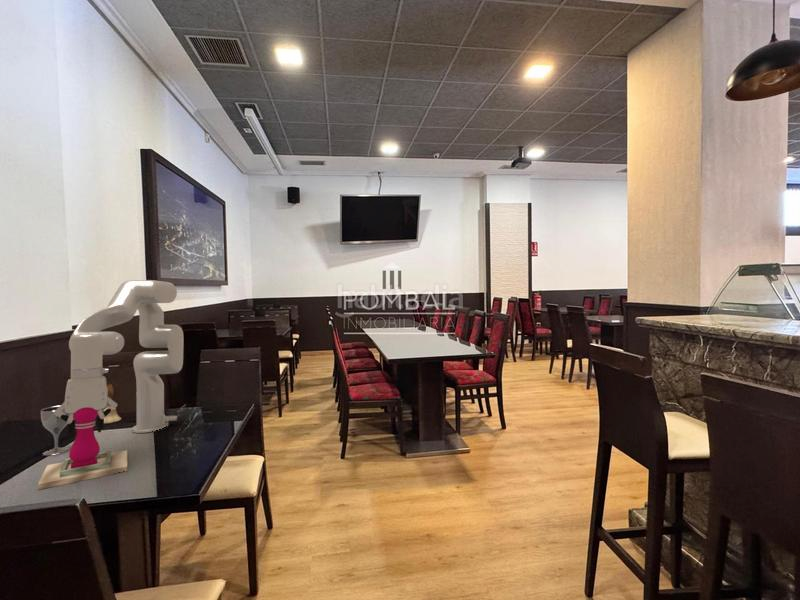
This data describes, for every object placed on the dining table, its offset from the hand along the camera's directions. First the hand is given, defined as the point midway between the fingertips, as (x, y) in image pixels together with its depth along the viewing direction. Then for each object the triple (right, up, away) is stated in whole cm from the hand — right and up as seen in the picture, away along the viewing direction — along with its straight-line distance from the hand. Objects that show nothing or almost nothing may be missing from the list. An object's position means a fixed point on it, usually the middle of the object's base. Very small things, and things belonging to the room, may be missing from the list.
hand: (86, 432), depth 118 cm
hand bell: (-32, -13, +52) cm, 62 cm away
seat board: (0, -12, 0) cm, 12 cm away
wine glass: (-24, -12, +16) cm, 31 cm away
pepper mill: (0, -10, -1) cm, 10 cm away
